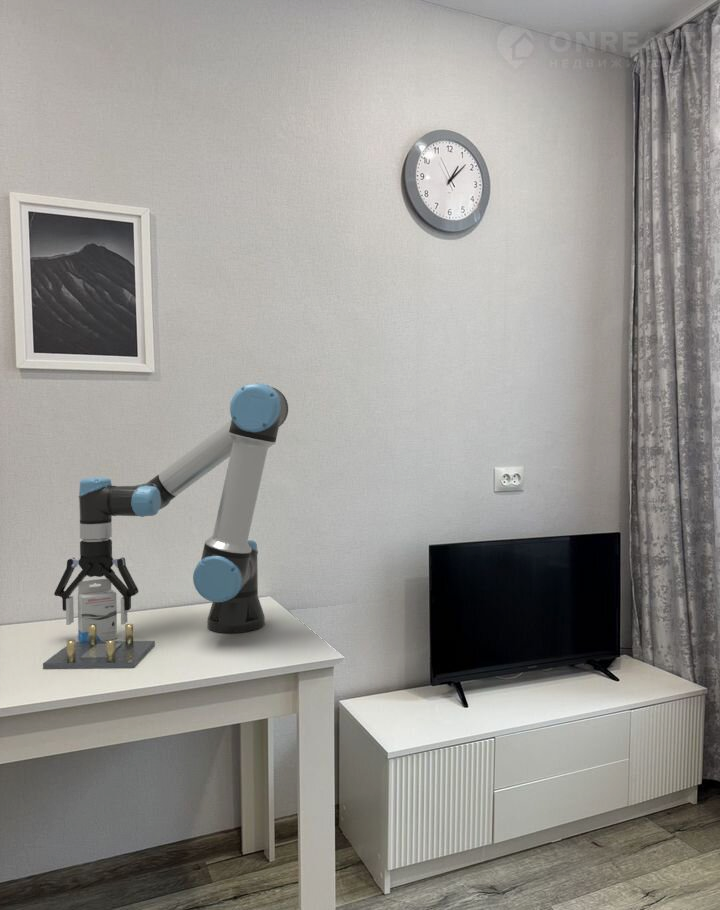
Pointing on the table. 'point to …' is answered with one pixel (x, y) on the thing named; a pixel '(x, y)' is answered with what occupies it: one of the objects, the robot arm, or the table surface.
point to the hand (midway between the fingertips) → (97, 623)
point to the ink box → (97, 610)
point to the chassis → (100, 652)
